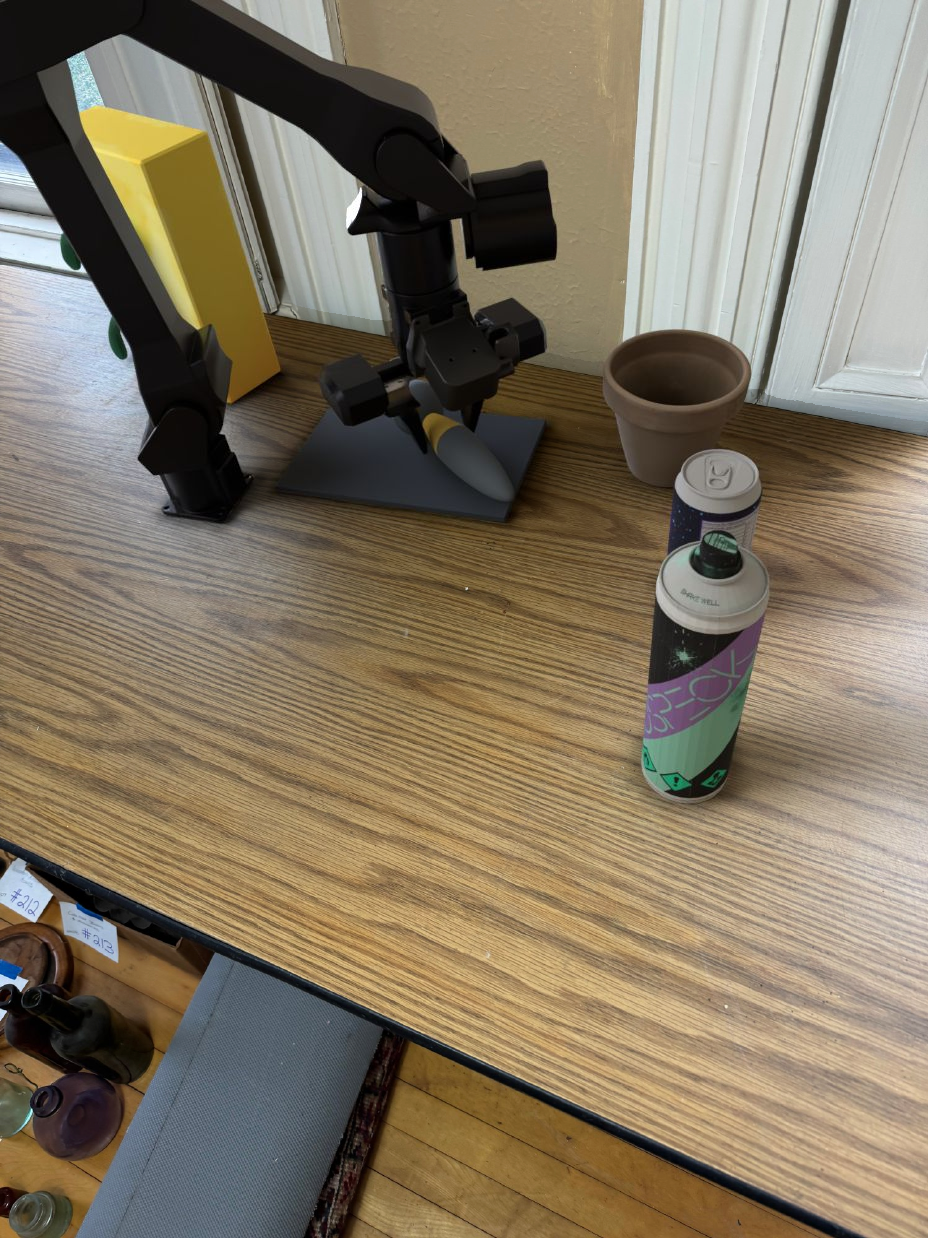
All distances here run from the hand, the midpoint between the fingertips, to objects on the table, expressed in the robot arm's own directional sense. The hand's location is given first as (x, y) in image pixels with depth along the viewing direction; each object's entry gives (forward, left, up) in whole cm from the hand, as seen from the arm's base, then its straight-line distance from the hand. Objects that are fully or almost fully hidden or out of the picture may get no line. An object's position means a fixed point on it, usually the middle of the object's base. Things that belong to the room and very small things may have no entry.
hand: (446, 442), depth 77 cm
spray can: (+25, -27, -2) cm, 37 cm away
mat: (-4, 0, -2) cm, 4 cm away
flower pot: (+19, +3, -2) cm, 20 cm away
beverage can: (+24, -12, -2) cm, 27 cm away
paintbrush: (0, 0, -2) cm, 2 cm away
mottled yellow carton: (-34, +9, -2) cm, 35 cm away
